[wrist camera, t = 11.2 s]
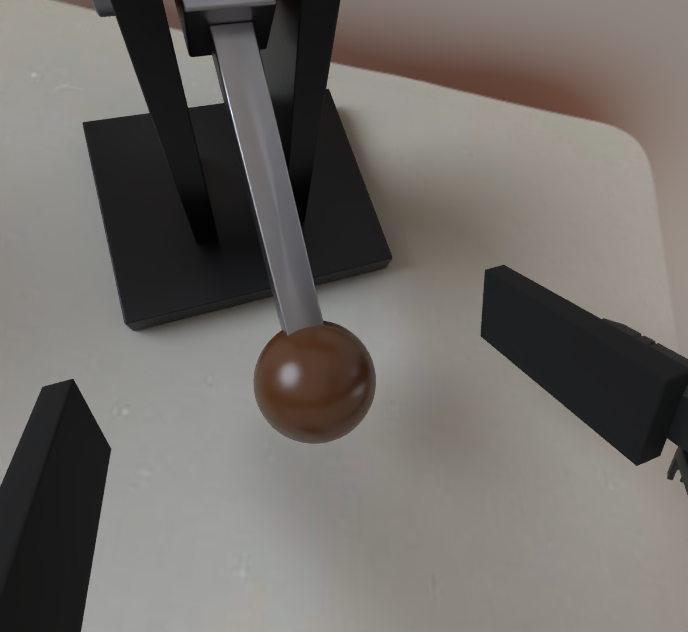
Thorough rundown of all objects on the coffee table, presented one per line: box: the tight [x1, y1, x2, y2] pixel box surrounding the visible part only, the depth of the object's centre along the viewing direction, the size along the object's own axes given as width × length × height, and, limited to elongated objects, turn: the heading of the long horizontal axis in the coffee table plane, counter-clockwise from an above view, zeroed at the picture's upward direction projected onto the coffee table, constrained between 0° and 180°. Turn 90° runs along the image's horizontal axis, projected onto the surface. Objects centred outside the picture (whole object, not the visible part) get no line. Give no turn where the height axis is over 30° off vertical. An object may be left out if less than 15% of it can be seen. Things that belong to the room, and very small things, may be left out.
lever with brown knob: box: [175, 0, 376, 444], centre depth 12 cm, size 14×4×4 cm, turn 18°
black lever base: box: [83, 0, 392, 331], centre depth 15 cm, size 10×12×13 cm
